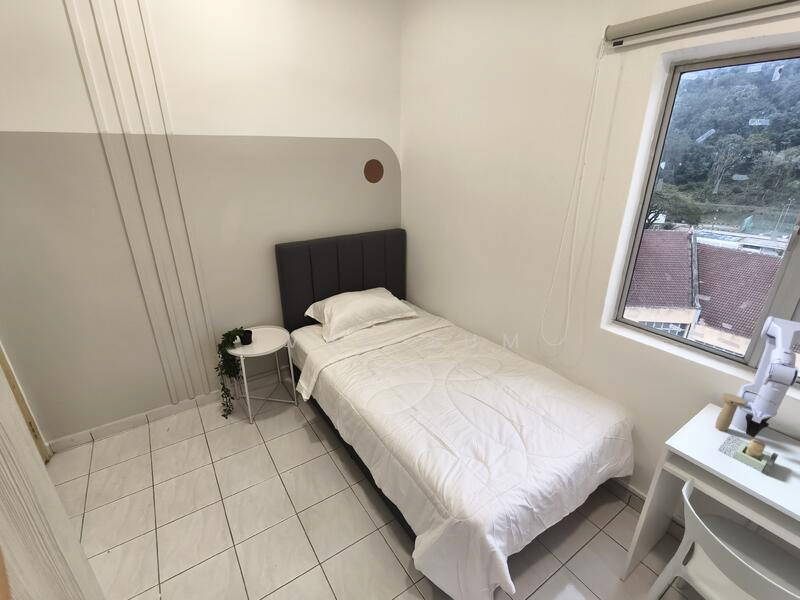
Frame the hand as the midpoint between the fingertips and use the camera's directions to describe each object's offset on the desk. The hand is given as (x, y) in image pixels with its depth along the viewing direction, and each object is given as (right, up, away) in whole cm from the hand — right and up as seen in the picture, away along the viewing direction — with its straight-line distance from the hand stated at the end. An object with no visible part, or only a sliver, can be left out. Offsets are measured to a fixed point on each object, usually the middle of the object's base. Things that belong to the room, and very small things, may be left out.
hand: (753, 430), depth 125 cm
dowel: (-1, -10, 0) cm, 10 cm away
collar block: (-1, -10, 0) cm, 10 cm away
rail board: (0, -10, +3) cm, 10 cm away
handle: (+1, -5, +14) cm, 15 cm away
